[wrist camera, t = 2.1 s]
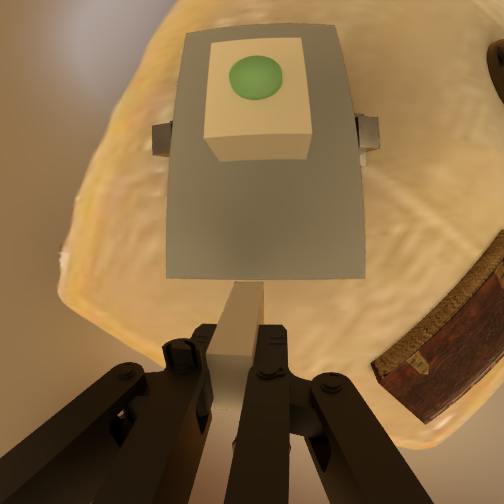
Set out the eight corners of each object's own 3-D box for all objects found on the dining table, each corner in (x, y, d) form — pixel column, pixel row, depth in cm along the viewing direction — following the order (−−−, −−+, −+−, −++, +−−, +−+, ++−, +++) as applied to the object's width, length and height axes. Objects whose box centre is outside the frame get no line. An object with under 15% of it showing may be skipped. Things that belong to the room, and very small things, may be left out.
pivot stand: (174, 123, 30) (149, 112, 24) (360, 116, 28) (379, 103, 21) (181, 247, 34) (158, 264, 28) (361, 246, 32) (379, 263, 25)
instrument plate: (190, 45, 25) (167, 0, 17) (334, 38, 23) (343, -12, 15) (174, 276, 25) (128, 284, 17) (359, 276, 23) (395, 285, 15)
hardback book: (418, 408, 39) (426, 426, 34) (369, 361, 37) (377, 382, 32) (525, 302, 31) (540, 313, 27) (499, 229, 29) (519, 236, 25)
